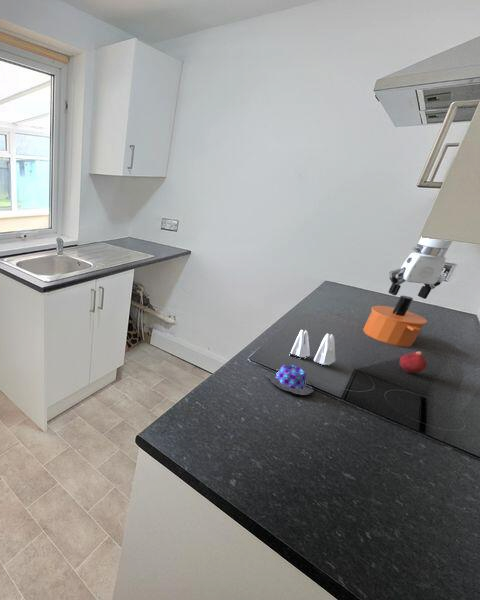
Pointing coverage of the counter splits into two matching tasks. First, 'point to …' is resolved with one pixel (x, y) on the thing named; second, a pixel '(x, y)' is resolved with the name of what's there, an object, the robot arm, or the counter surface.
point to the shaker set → (324, 352)
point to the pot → (391, 330)
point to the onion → (413, 362)
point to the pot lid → (400, 312)
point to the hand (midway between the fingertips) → (406, 295)
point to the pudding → (291, 376)
